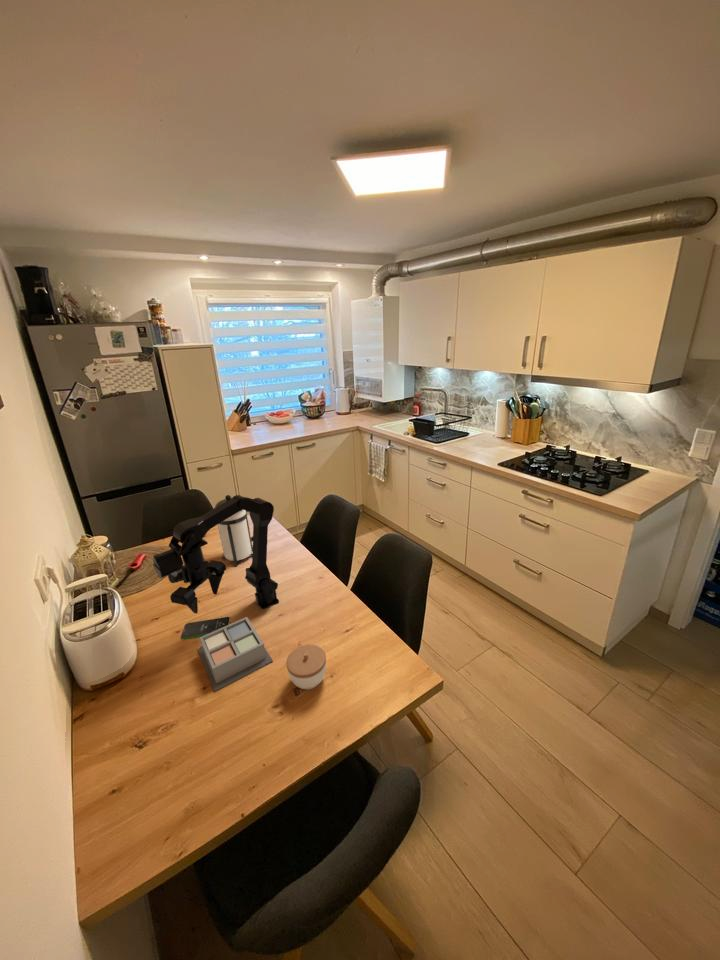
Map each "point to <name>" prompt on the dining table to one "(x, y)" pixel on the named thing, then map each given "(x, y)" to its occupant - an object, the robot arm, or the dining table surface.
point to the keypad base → (237, 664)
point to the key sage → (246, 643)
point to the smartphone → (203, 627)
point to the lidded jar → (306, 666)
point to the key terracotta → (222, 655)
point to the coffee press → (235, 535)
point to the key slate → (238, 630)
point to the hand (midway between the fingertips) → (205, 603)
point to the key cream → (215, 640)
